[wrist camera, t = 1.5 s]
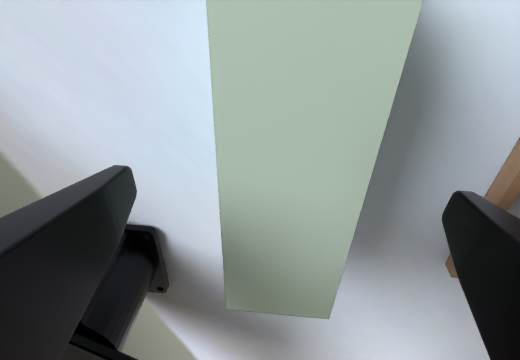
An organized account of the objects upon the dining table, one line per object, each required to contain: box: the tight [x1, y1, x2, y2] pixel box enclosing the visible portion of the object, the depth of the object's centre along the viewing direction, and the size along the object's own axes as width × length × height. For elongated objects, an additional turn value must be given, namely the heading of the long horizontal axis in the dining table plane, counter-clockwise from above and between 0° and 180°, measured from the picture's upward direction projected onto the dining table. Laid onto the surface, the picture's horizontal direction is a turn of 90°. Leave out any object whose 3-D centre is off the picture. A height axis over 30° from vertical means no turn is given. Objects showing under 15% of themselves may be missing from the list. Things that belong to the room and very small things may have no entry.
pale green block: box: [206, 0, 423, 319], centre depth 11 cm, size 12×4×7 cm, turn 178°
